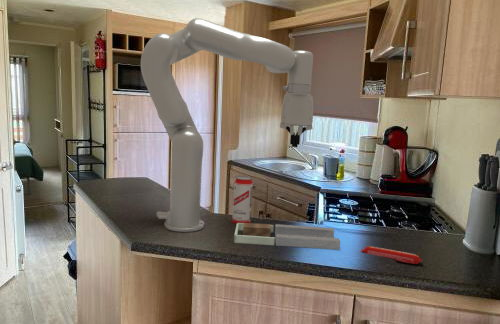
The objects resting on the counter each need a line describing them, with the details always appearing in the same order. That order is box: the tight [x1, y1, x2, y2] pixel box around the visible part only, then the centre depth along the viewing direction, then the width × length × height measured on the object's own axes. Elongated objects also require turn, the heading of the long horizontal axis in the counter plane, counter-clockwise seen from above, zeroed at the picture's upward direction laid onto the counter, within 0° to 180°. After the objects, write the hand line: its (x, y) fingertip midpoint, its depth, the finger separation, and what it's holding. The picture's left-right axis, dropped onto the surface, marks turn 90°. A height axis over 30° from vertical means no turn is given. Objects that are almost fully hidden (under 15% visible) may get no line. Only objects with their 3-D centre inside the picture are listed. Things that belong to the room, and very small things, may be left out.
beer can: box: [231, 175, 254, 225], centre depth 131 cm, size 6×6×16 cm
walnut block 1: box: [242, 222, 258, 236], centre depth 117 cm, size 4×4×4 cm
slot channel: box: [274, 223, 341, 251], centre depth 118 cm, size 18×12×4 cm, turn 88°
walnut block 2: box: [256, 223, 272, 237], centre depth 118 cm, size 4×4×4 cm
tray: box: [233, 223, 276, 246], centre depth 118 cm, size 12×12×3 cm
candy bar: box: [360, 245, 423, 265], centre depth 109 cm, size 16×4×3 cm, turn 69°
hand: (294, 146), depth 130 cm, fingers closed
